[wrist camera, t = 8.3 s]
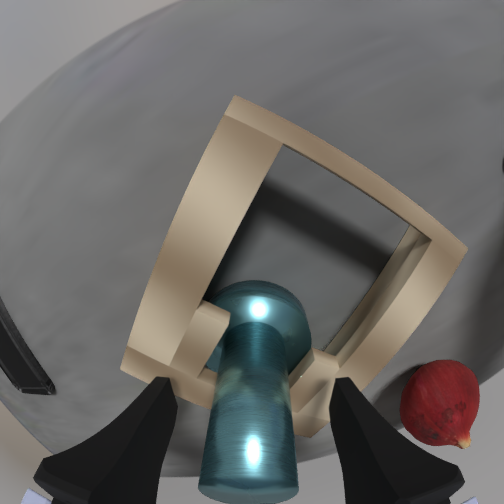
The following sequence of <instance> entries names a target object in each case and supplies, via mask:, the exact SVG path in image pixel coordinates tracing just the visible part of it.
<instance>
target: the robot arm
mask: <svg viewBox="0 0 504 504" xmlns="http://www.w3.org/2000/svg"><path fill="white" fill-rule="evenodd" d="M177 408H178V406H177V402H176V399H175V396H174V392H173V389H172V385H171V382H170V378H169V377H159V376H156V377H155V378H154V379H153V380H152V382H151V383H150V384H149V385H148V386H147V387H146V388H145V389H144V391H143V392H142V393H141V394H140V395H139V396H138V397H137V398H136V399H135V400H134V401H133V402H132V403H131V404H130V405H129V406H128V407H127V408H126V409H125V410H124V411H123V412H122V413H121V414H120V415H119V416H118V417H117V418H116V419H114V420H113V421H112V422H111V423H110V424H109V425H107V426H106V427H105V428H103V429H102V430H101V431H99V432H98V433H96V434H95V435H93V436H92V437H90V438H89V439H87V440H85V441H84V442H82V443H80V444H78V445H76V446H74V447H72V448H70V449H68V450H66V451H63V452H61V453H58V454H55V455H52V456H50V457H46V458H43V460H42V462H41V464H40V466H39V468H38V469H37V471H36V474H35V475H34V477H33V478H34V481H35V482H36V483H37V484H38V485H39V486H40V487H41V488H43V489H44V490H45V491H46V492H48V493H49V494H50V495H51V496H53V497H54V498H53V500H52V501H50V500H49V499H47V498H45V497H43V496H42V495H40V494H38V493H36V492H35V491H33V490H31V489H30V488H28V489H27V491H26V493H25V495H24V498H23V500H22V502H21V504H156V498H157V491H158V484H159V478H160V472H161V468H162V464H163V460H164V457H165V454H166V451H167V448H168V445H169V441H170V438H171V435H172V432H173V429H174V425H175V420H176V414H177ZM329 415H330V423H331V428H332V432H333V436H334V440H335V444H336V448H337V451H338V455H339V459H340V463H341V467H342V472H343V480H344V489H345V500H346V504H450V503H451V502H450V500H449V497H450V496H452V495H453V494H454V493H455V492H456V491H458V490H459V489H460V488H461V487H462V486H463V484H464V483H465V481H464V478H463V476H462V473H461V471H460V469H459V468H458V466H457V465H454V464H452V463H449V462H447V461H444V460H442V459H440V458H437V457H436V456H434V455H432V454H430V453H428V452H426V451H425V450H423V449H421V448H420V447H418V446H417V445H415V444H414V443H412V442H411V441H409V440H408V439H407V438H405V437H404V436H403V435H402V434H400V433H399V432H398V431H397V430H396V429H395V428H393V427H392V426H391V425H390V424H389V423H388V422H387V421H386V420H385V419H384V418H383V417H382V416H381V415H380V414H379V413H378V412H377V410H376V409H375V408H374V407H373V406H372V405H371V404H370V402H369V401H368V400H367V399H366V398H365V396H364V395H363V394H362V393H361V391H360V390H359V389H358V388H357V386H356V385H355V384H354V382H353V381H352V380H351V378H350V377H342V378H335V382H334V387H333V391H332V395H331V399H330V403H329ZM461 504H478V501H477V498H476V497H472V498H471V499H469V500H467V501H465V502H463V503H461Z"/></svg>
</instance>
